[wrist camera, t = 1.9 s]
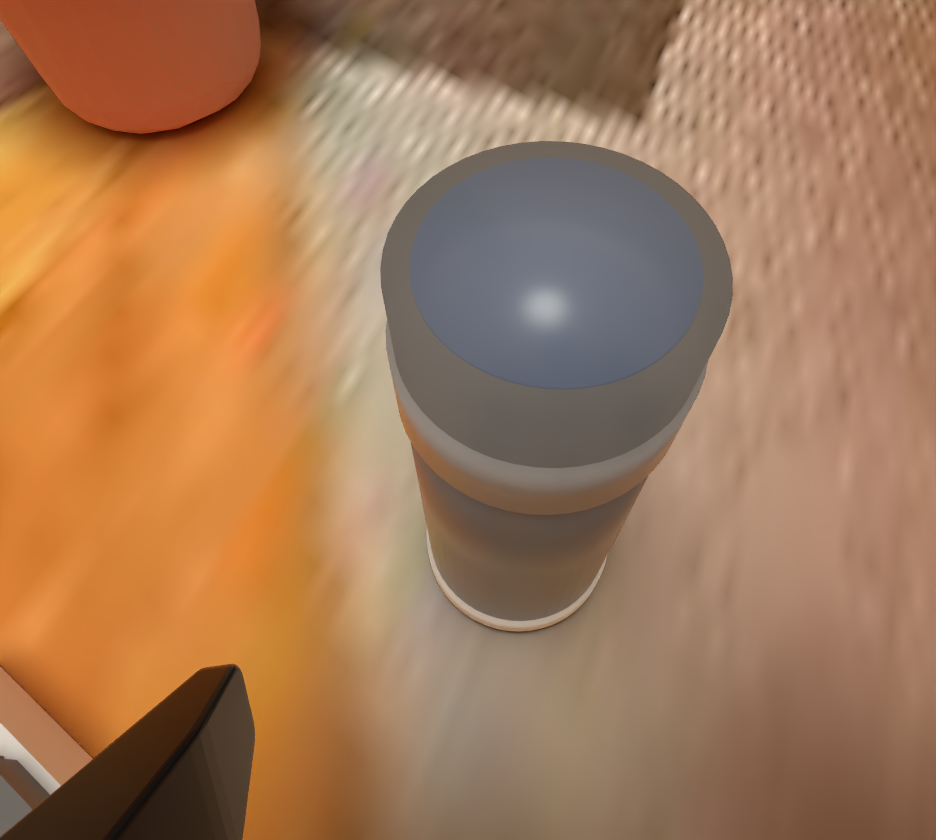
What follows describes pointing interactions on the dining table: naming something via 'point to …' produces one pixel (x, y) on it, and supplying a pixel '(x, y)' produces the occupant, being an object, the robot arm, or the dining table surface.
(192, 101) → the decorative flower
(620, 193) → the gray tumbler
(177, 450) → the dining table surface
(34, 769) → the square flange plate
